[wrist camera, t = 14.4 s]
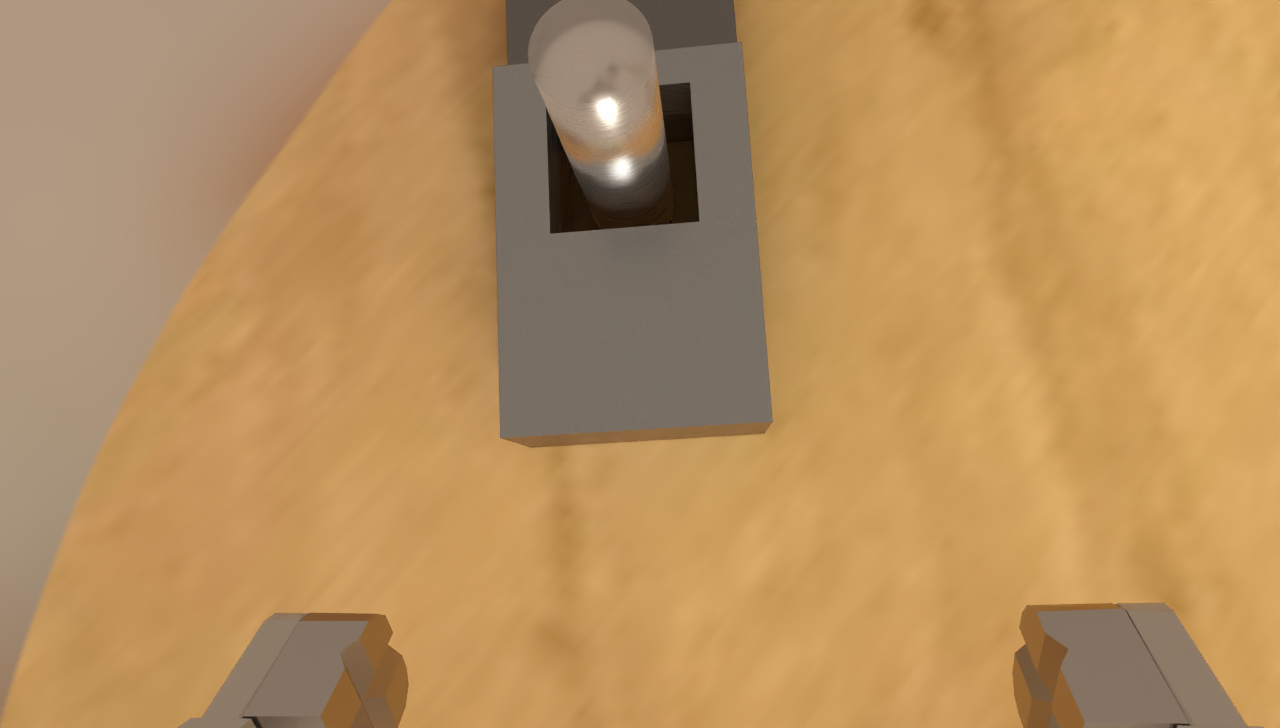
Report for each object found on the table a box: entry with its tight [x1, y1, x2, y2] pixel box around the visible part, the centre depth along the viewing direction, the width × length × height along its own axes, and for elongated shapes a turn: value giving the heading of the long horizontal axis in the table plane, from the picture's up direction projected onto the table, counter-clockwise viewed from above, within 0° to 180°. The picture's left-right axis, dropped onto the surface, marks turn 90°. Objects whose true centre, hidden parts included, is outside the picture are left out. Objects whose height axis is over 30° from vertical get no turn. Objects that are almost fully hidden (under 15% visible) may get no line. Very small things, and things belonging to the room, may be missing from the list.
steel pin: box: [528, 0, 674, 230], centre depth 24 cm, size 3×3×10 cm
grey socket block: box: [493, 0, 773, 447], centre depth 27 cm, size 8×17×4 cm, turn 3°
